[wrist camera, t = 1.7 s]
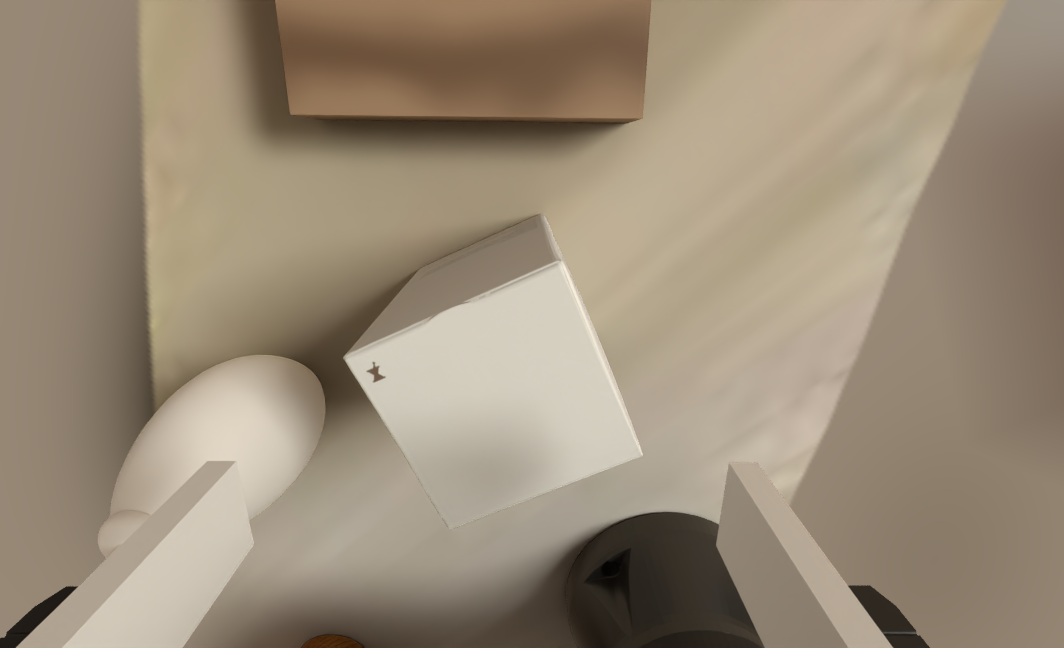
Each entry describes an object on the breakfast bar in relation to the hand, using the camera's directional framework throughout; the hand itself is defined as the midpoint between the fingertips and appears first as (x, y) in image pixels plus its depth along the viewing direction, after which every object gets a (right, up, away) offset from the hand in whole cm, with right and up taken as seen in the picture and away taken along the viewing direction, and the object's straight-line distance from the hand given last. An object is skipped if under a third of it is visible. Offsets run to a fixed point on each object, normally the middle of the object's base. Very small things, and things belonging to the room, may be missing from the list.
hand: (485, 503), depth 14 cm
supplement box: (0, +6, +20) cm, 21 cm away
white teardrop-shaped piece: (-15, +1, +21) cm, 26 cm away
